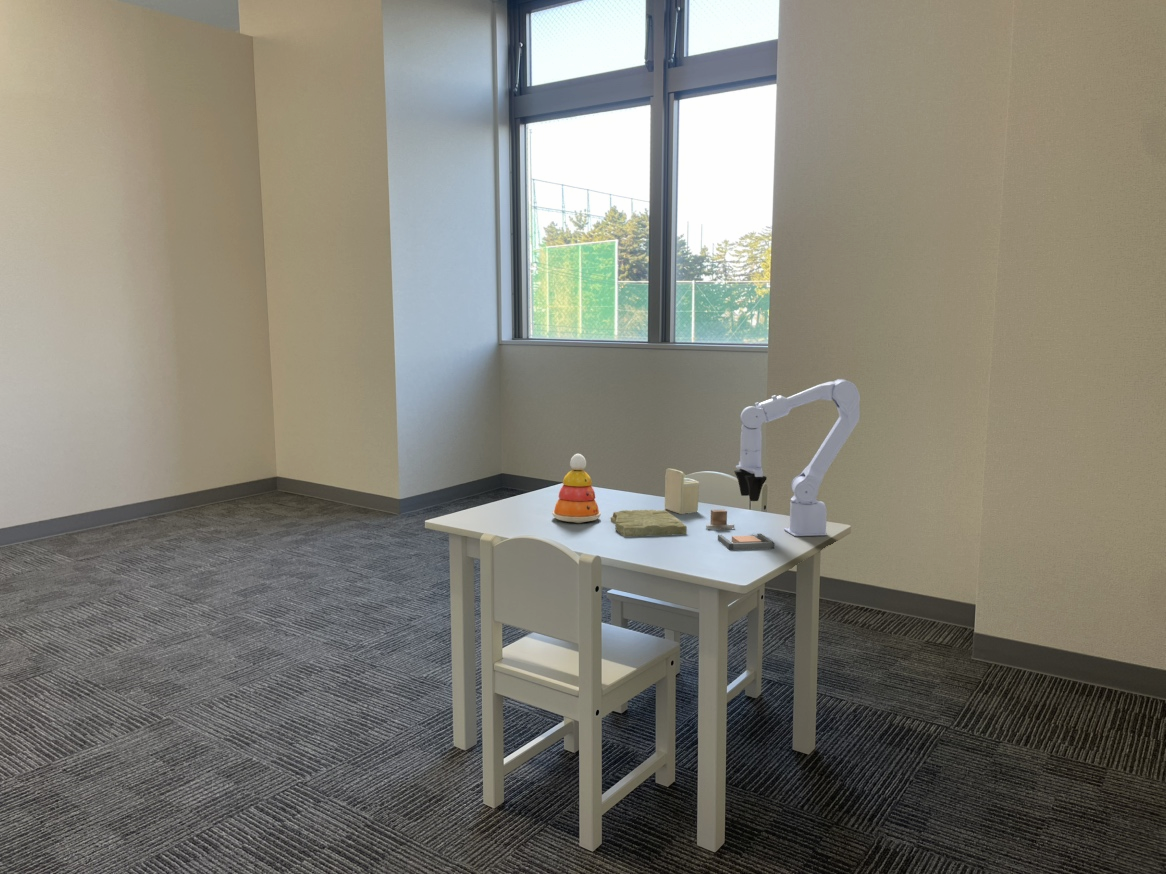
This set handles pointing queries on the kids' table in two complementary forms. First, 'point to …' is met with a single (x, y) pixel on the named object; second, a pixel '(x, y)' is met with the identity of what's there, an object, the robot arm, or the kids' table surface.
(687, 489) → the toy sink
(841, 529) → the kids' table surface
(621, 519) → the decorative tile
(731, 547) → the slate frame
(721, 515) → the walnut scraper
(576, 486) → the stacking toy
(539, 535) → the kids' table surface
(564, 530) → the kids' table surface
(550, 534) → the kids' table surface
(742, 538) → the terracotta tile
